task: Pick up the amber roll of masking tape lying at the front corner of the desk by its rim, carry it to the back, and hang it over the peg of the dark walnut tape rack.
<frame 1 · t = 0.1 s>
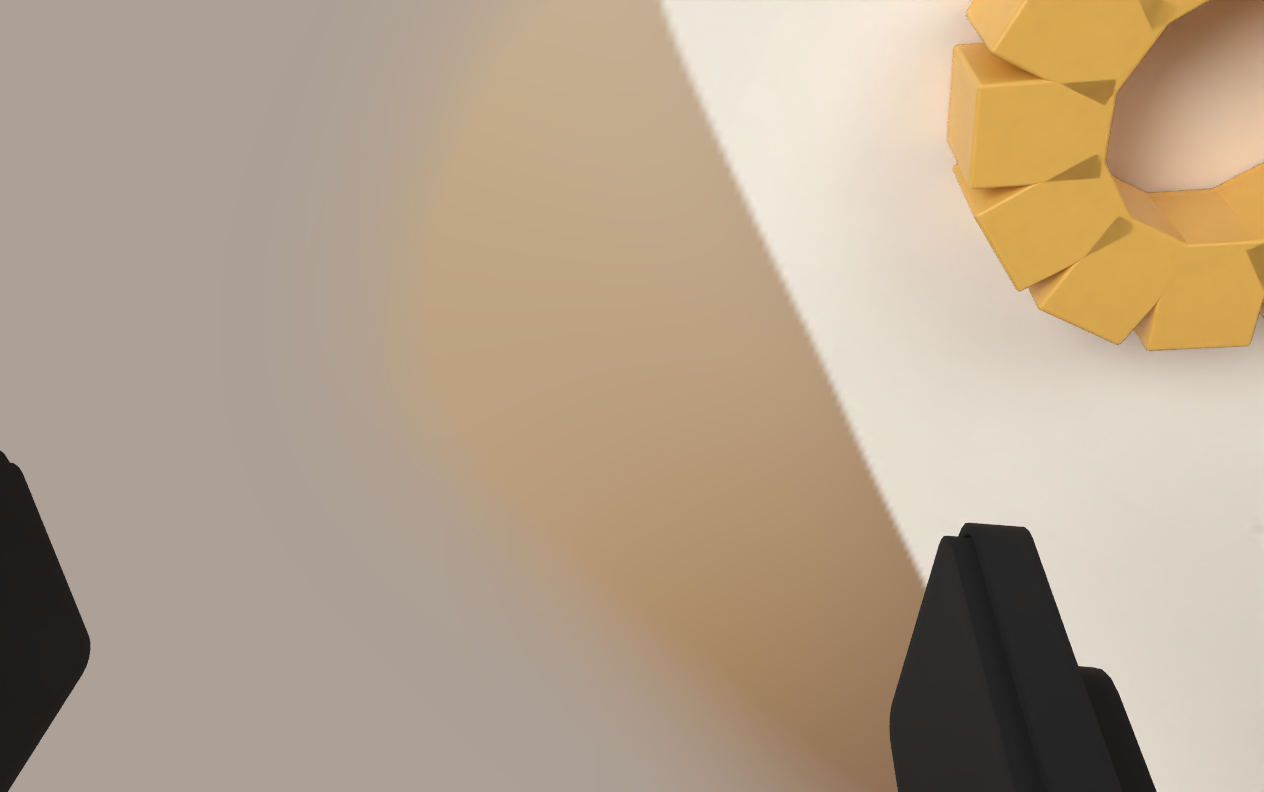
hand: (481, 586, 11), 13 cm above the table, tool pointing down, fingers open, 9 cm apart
tape: (1204, 74, 20), on the table
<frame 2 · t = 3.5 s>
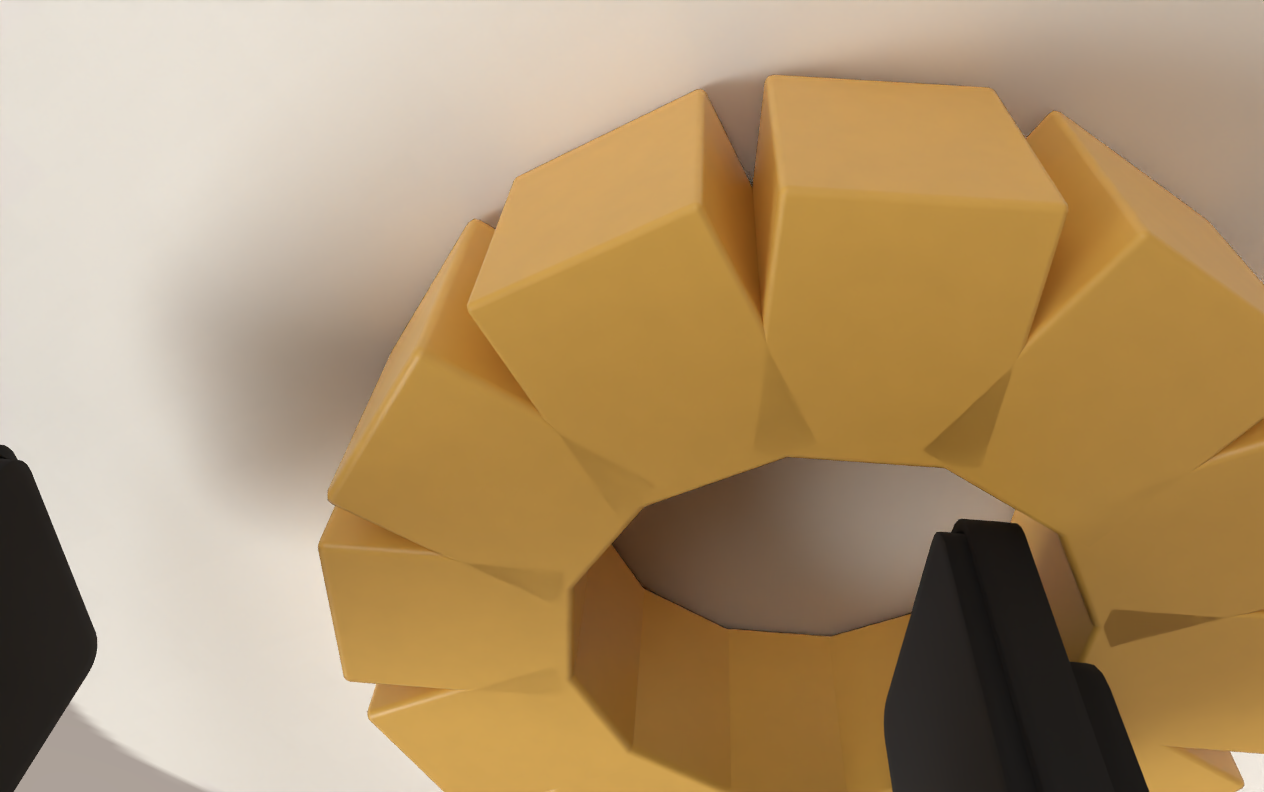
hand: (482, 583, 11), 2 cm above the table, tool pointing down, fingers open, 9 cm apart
tape: (803, 491, 12), on the table, touching gripper
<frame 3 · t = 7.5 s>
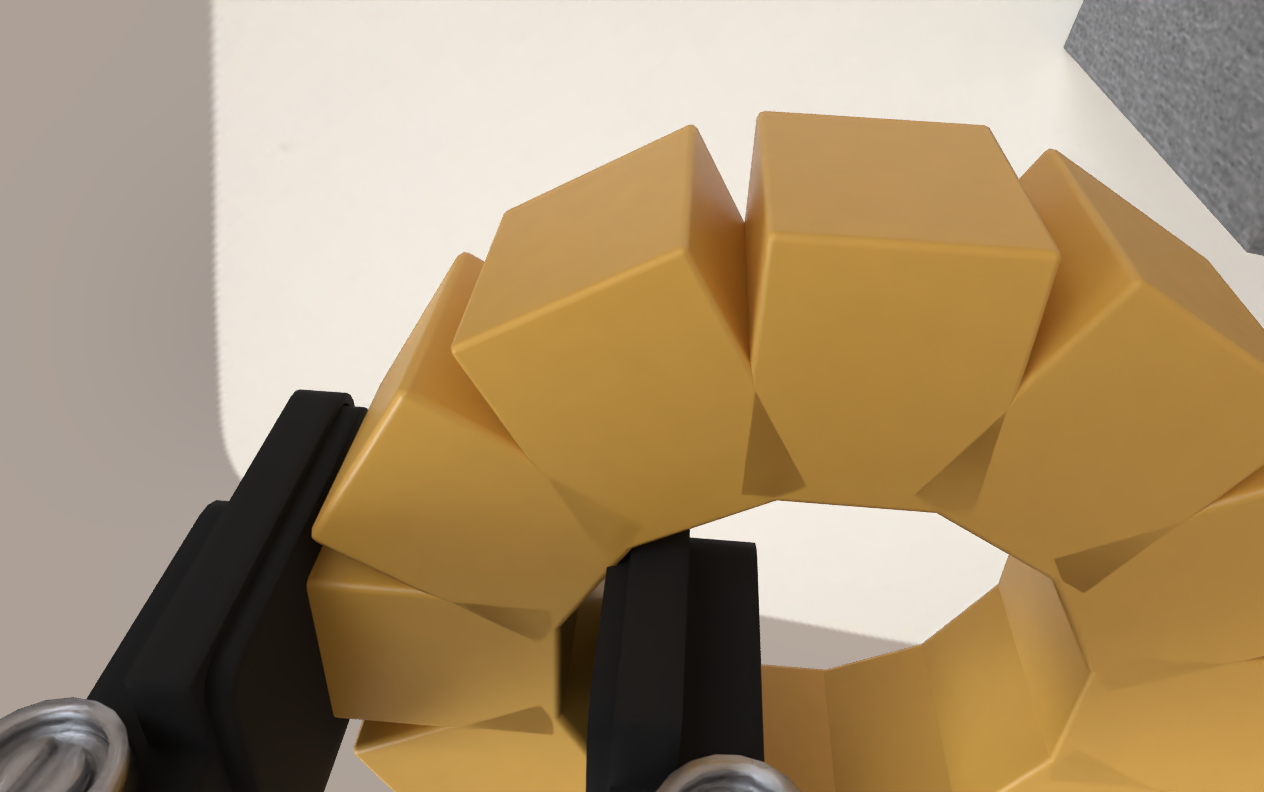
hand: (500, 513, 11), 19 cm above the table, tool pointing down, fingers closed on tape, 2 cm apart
tape: (798, 524, 12), point 19 cm above the table, touching gripper
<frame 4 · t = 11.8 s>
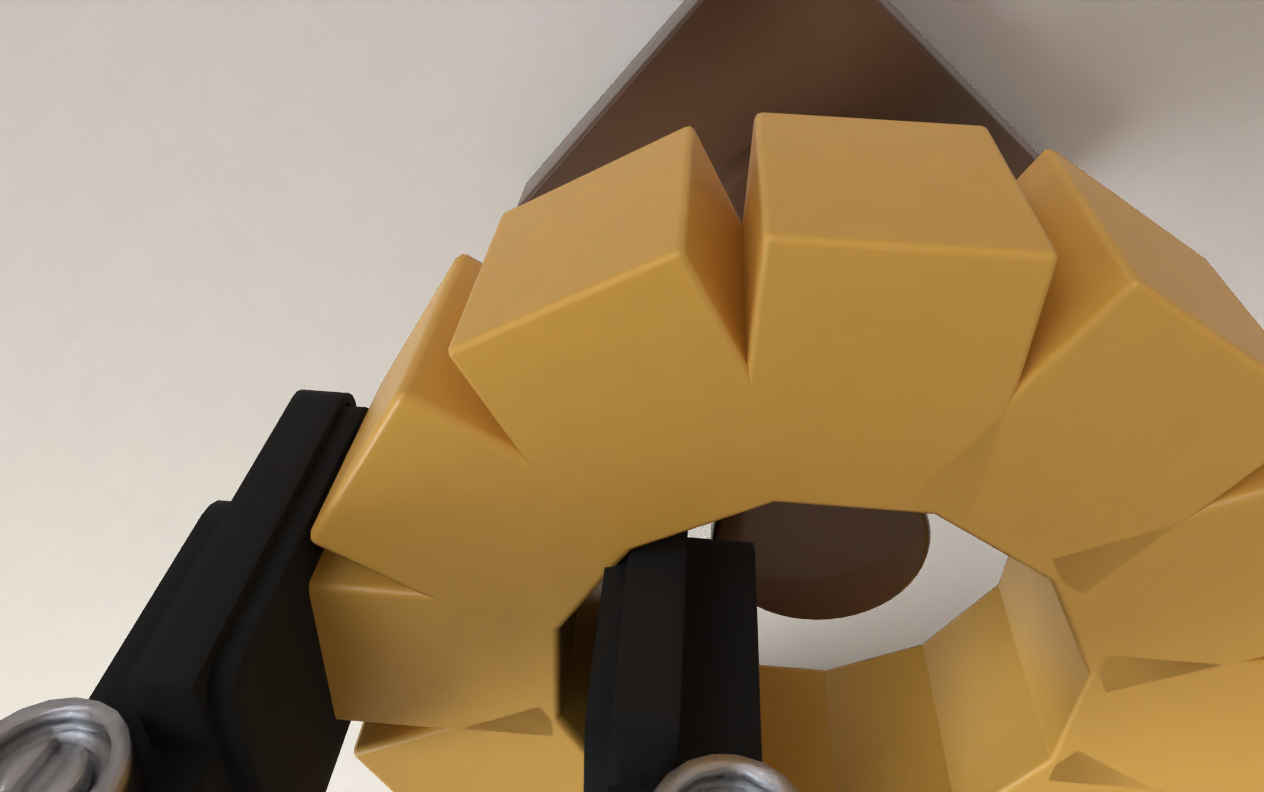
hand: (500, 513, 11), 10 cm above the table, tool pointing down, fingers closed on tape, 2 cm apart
rack: (778, 173, 19), on the table
tape: (797, 525, 12), point 10 cm above the table, touching gripper
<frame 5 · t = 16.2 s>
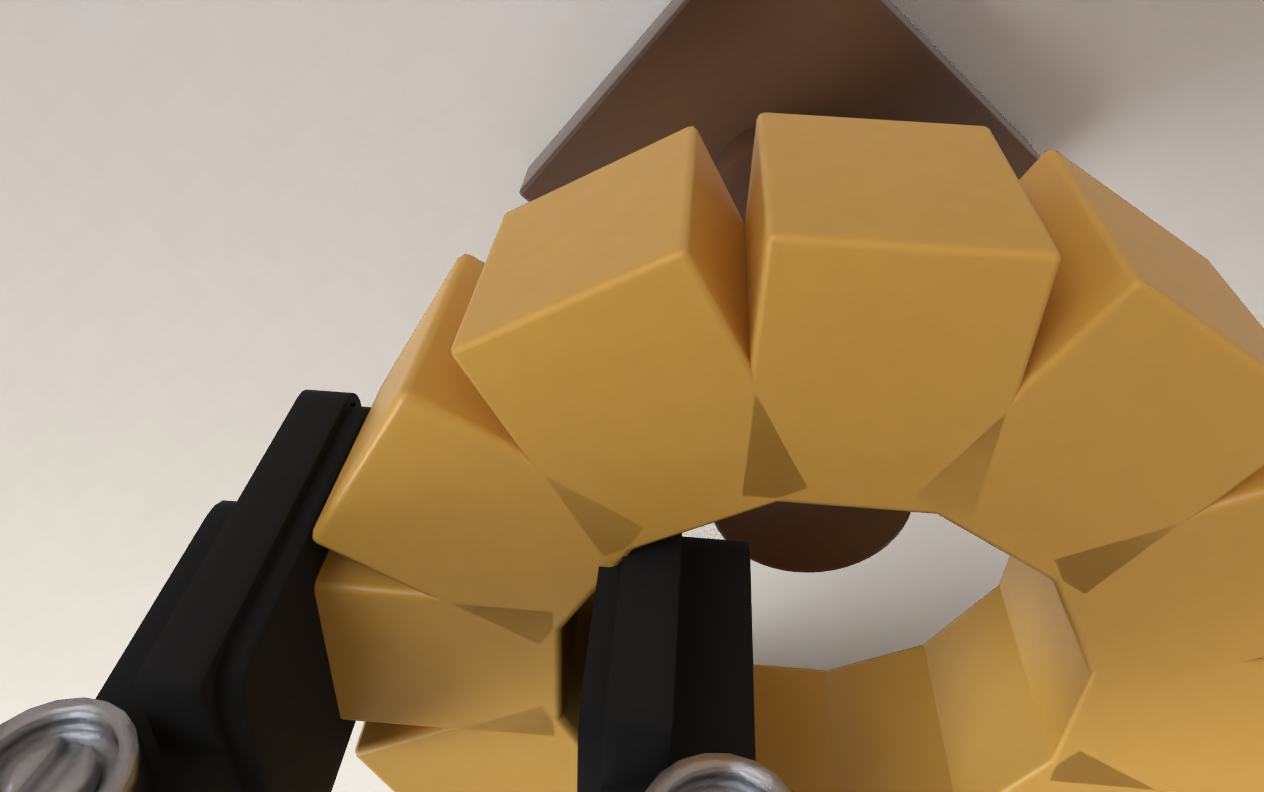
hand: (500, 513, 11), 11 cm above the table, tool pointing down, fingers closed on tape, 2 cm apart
rack: (773, 158, 20), on the table
tape: (799, 525, 12), point 11 cm above the table, touching gripper
when the fingers open (13 cm above the table, at t = 20.0 s): tape drops 11 cm, resting on rack.
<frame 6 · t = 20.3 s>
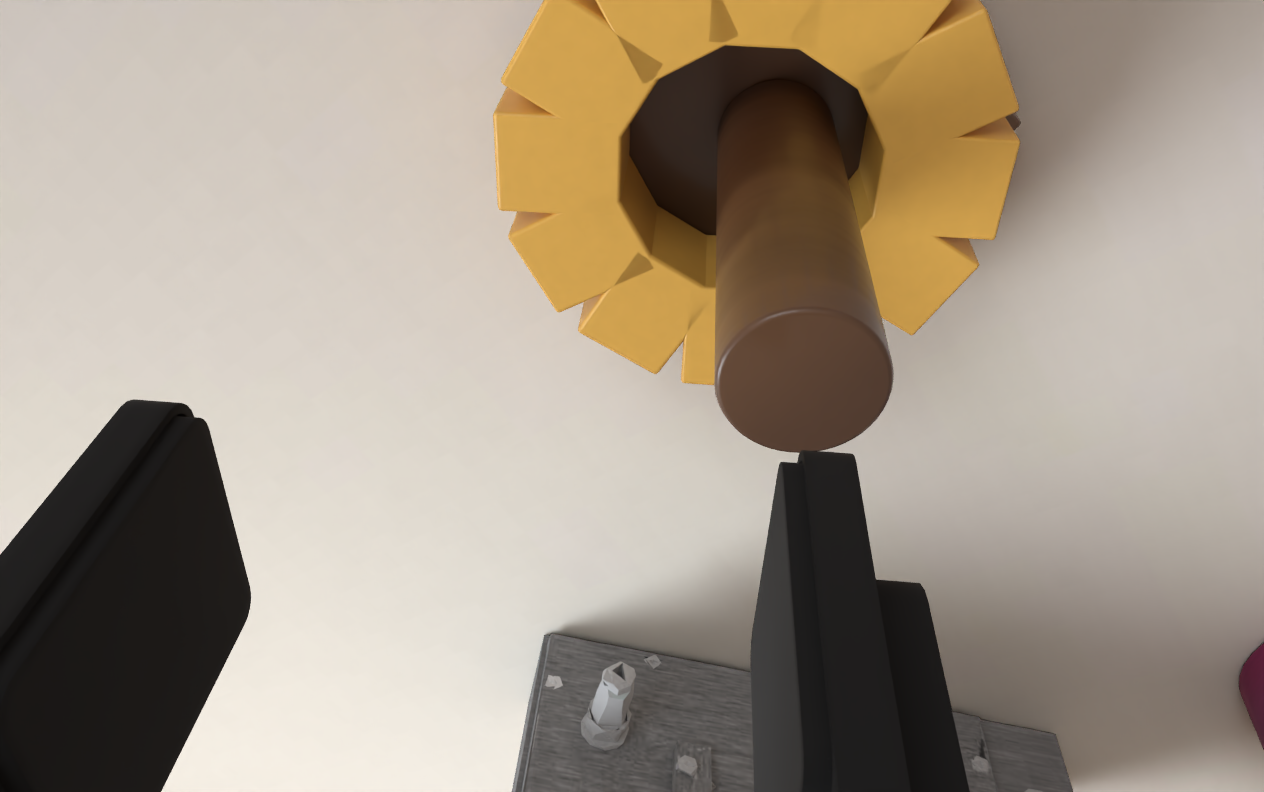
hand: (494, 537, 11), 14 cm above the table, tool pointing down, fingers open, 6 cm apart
electronic device: (804, 689, 33), on the table
rack: (773, 115, 22), on the table
tape: (746, 130, 21), point 1 cm above the table, touching rack
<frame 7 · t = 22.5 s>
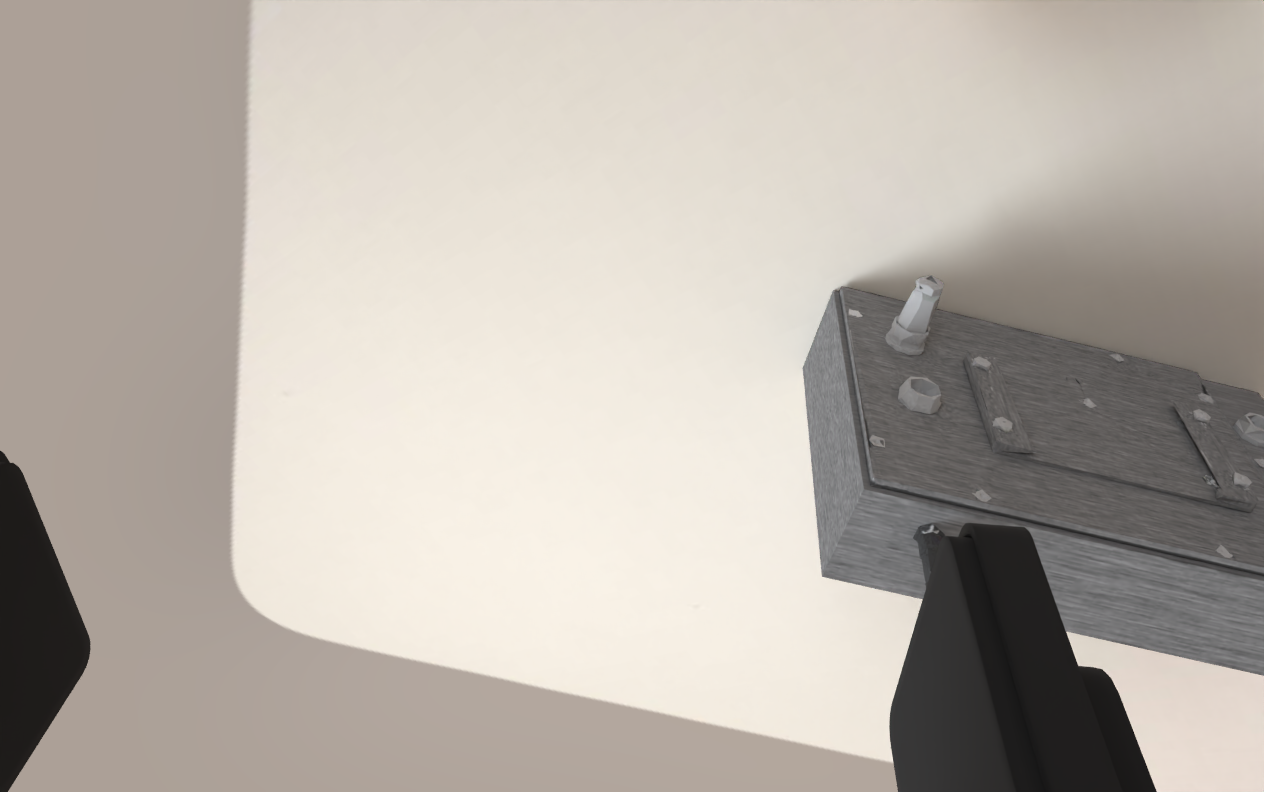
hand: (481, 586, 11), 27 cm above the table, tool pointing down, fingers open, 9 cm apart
electronic device: (1046, 350, 39), on the table
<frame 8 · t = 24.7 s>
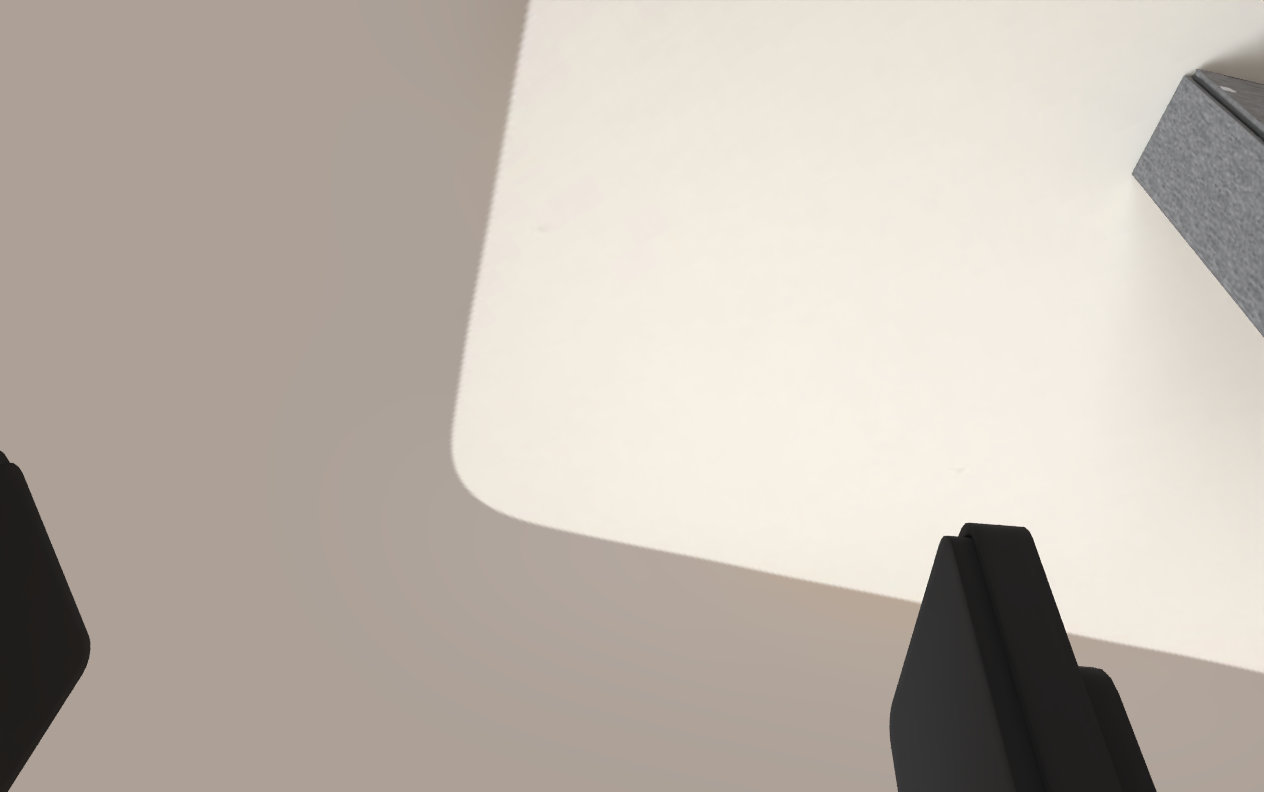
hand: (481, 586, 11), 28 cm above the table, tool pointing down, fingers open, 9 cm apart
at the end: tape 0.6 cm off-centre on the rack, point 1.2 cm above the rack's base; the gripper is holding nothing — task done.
